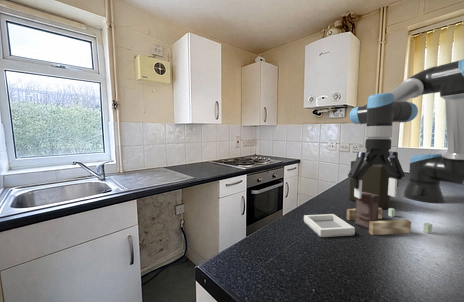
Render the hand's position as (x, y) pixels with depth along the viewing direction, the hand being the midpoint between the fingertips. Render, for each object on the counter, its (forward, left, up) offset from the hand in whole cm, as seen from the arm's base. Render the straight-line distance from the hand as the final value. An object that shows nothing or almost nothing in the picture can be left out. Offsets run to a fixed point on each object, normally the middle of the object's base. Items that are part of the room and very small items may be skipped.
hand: (374, 196), depth 74 cm
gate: (-14, 0, -11) cm, 18 cm away
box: (+3, 0, -11) cm, 11 cm away
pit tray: (+18, 0, -11) cm, 21 cm away
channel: (-1, 0, -11) cm, 11 cm away
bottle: (-16, -22, -11) cm, 29 cm away
